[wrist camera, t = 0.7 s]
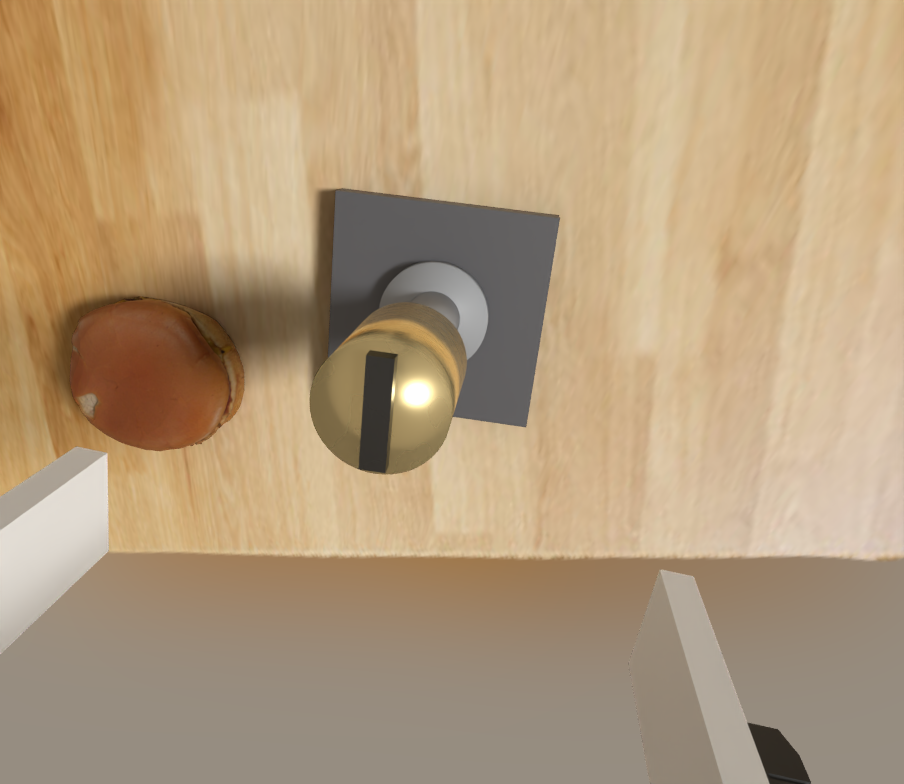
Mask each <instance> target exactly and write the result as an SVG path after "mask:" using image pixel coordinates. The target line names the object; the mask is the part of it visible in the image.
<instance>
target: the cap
mask: <svg viewBox="0 0 904 784" xmlns="http://www.w3.org/2000/svg"><path fill="white" fill-rule="evenodd" d="M466 369H467V355H466V349H465V345H464V343H463V340H462V338H461V336H460V334H459V332H458V330H457V329H456V328H455V326H454V325H453V324H452V323H451V322H450V321H449V320H448V319H447V318H446V317H445V316H444V315H443V314H441V313H440V312H438V311H436V310H435V309H432V308H430V307H428V306H425V305H422V304H418V303H410V302H401V303H394V304H390V305H387V306H384V307H382V308H380V309H378V310H376V311H375V312H373V313H372V314H370V315H369V316H368V317H367V318H366V319H365V320H364V321H363V322H362V323H361V324H360V325H359V326H358V327H357V328H356V329H355V330H354V332H353V333H352V334H351V335H350V336H349V337H348V338H347V339H346V340H345V341H344V342H343V343H342V344H341V345H340V346H339V347H338V348H337V349H336V350H335V351H334V352H333V354H332V355H331V356H330V357H329V358H328V359H327V360H326V361H325V362H324V363H323V365H322V366H321V367H320V369H319V370H318V372H317V374H316V376H315V378H314V380H313V383H312V387H311V391H310V412H311V417H312V421H313V424H314V427H315V429H316V431H317V433H318V435H319V437H320V438H321V440H322V441H323V443H324V444H325V445H326V446H327V448H328V449H329V450H330V451H331V452H332V453H333V454H334V455H336V456H337V457H338V458H339V459H341V460H342V461H344V462H345V463H347V464H348V465H350V466H353V467H355V468H357V469H360V470H362V471H365V472H370V473H375V474H397V473H402V472H406V471H410V470H412V469H414V468H417V467H419V466H420V465H422V464H424V463H425V462H426V461H428V460H429V459H430V458H432V456H433V455H434V454H435V453H436V452H437V451H438V450H439V448H440V447H441V446H442V444H443V442H444V440H445V438H446V436H447V433H448V430H449V427H450V424H451V421H452V417H453V414H454V411H455V407H456V404H457V401H458V397H459V394H460V391H461V387H462V384H463V381H464V378H465V374H466Z"/></svg>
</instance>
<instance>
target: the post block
mask: <svg viewBox="0 0 904 784" xmlns="http://www.w3.org/2000/svg"><path fill="white" fill-rule="evenodd" d="M559 220H560V217H559V215H552V214H544V213H536V212H528V211H520V210H512V209H504V208H496V207H488V206H480V205H472V204H464V203H455V202H447V201H439V200H431V199H423V198H415V197H407V196H399V195H391V194H383V193H375V192H367V191H359V190H351V189H339V190H336V194H335V216H334V238H333V260H332V281H331V303H330V325H329V347H328V358H329V357H330V356H331V355H332V354H333V352H334V351H335V350H336V349H337V348H338V347H339V346H340V345H341V344H342V343H343V342H344V341H345V340H346V339H347V338H348V337H349V336H350V335H351V334H352V333H353V332H354V330H355V329H356V328H357V327H358V326H359V325H360V324H361V323H362V322H363V321H364V320H365V319H366V318H367V317H368V316H369V315H370V314H372V313H373V312H375V311H376V310H378V309H380V308H382V307H384V306H387V305H390V304H394V303H401V302H410V303H418V304H422V305H425V306H428V307H430V308H432V309H435V310H436V311H438V312H440V313H441V314H443V315H444V316H445V317H446V318H447V319H448V320H449V321H450V322H451V323H452V324H453V325H454V326H455V328H456V329H457V330H458V332H459V334H460V336H461V338H462V340H463V343H464V345H465V349H466V355H467V369H466V374H465V378H464V381H463V384H462V387H461V391H460V394H459V397H458V401H457V404H456V407H455V411H454V414H453V417H459V418H466V419H473V420H480V421H486V422H493V423H500V424H507V425H514V426H521V427H526V424H527V418H528V412H529V406H530V400H531V393H532V387H533V381H534V375H535V369H536V363H537V356H538V350H539V344H540V338H541V332H542V326H543V319H544V313H545V307H546V301H547V295H548V288H549V282H550V276H551V270H552V264H553V258H554V251H555V245H556V239H557V233H558V227H559Z"/></svg>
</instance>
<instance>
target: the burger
mask: <svg viewBox="0 0 904 784" xmlns="http://www.w3.org/2000/svg"><path fill="white" fill-rule="evenodd" d="M78 322H79V324H78V326H77V328H76V330H75V331H74V333H73V335H72V344H73V350H72V356H71V365H70V385H71V390H72V395H73V398H74V400H75V402H76V403H77V404H78V406H79V408H80V409H81V411H82V413H83V414H84V415H85V417H86V418H87V419H88V420H89V421H90V423H91V424H92V425H94V426H95V427H96V428H98V429H99V430H100V431H102V432H103V433H104V434H106V435H108V436H109V437H111V438H113V439H115V440H117V441H119V442H121V443H124V444H127V445H130V446H134V447H138V448H141V449H145V450H154V451H163V450H169V449H179V448H183V447H186V446H193V445H194V444H196V445H197V444H202V442H203V441H205V440H207V439H209V438H210V437H211V436H212V435H213V434H214V433H215V432H216V431H217V429H218V428H220V427H221V426H222V425H223V424H224V423H226V422H227V421H229V420H230V419H231V418H232V417H233V416H234V415H235V413H236V412H237V410H238V409H239V407H240V404H241V401H242V397H243V393H244V371H243V365H242V363H241V360H240V357H239V355H238V353H237V351H236V348H235V346H234V344H233V342H232V341H231V339H230V337H229V336H228V335H227V334H226V332H225V330H224V329H223V328H222V327H221V326H220V324H219V323H218V322H217V321H215V320H214V319H212V318H211V317H209V316H207V315H205V314H203V313H201V312H198V311H196V310H193V309H191V308H188V307H186V306H182V305H179V304H176V303H172V302H168V301H163V300H158V299H152V298H147V297H137V298H134V299H123V300H121V301H118V302H116V303H114V304H110V305H105V306H103V307H100V308H97V309H94V310H92V311H91V312H89V313H87V314H85V315H84V316H82V317H81V318H80V319H79V320H78Z"/></svg>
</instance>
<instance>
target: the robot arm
mask: <svg viewBox="0 0 904 784" xmlns="http://www.w3.org/2000/svg"><path fill="white" fill-rule="evenodd" d="M108 551H109V542H108V471H107V453H105V452H100V451H95V450H90V449H86V448H81V447H75V448H73V449H72V450H70V451H69V452H67V453H66V454H64V455H63V456H61V457H60V458H58V459H57V460H55V461H54V462H52V463H51V464H49V465H48V466H46V467H45V468H43V469H42V470H40V471H39V472H37V473H35V474H34V475H32V476H31V477H29V478H28V479H26V480H25V481H23V482H22V483H20V484H19V485H17V486H16V487H14V488H13V489H11V490H10V491H8V492H7V493H5V494H4V495H2V496H1V497H0V654H1V653H2V652H3V651H4V650H5V649H6V648H7V647H8V646H9V645H10V644H12V643H13V642H14V641H15V640H16V639H17V638H18V637H19V636H20V635H21V634H22V633H23V632H24V631H25V630H26V629H27V628H28V627H29V626H30V625H31V624H32V623H34V622H35V621H36V620H37V619H38V618H39V617H40V616H41V615H42V614H43V613H44V612H45V611H46V610H47V609H48V608H49V607H50V606H51V605H52V604H53V603H54V602H56V601H57V599H59V598H60V597H61V596H62V595H63V594H64V593H65V592H66V591H67V590H68V589H69V588H70V587H71V586H72V585H73V584H74V583H75V582H76V581H77V580H79V579H80V578H81V577H82V576H83V575H84V574H85V573H86V572H87V571H88V570H89V569H90V568H91V567H92V566H93V565H94V564H95V563H96V562H97V561H98V560H99V559H101V557H103V556H104V555H105V554H106V553H107V552H108ZM628 665H629V671H630V676H631V681H632V687H633V693H634V698H635V704H636V709H637V715H638V720H639V726H640V732H641V737H642V742H643V748H644V754H645V759H646V765H647V770H648V776H649V781H650V784H811V781H810V779H809V777H808V774H807V772H806V770H805V767H804V765H803V763H802V760H801V758H800V756H799V754H798V753H797V752H796V751H795V749H794V748H793V747H792V746H791V745H790V743H789V742H788V741H787V740H786V739H785V737H784V736H783V735H782V734H781V732H780V731H779V730H778V729H774V728H770V727H765V726H760V725H755V724H751V723H747V721H746V718H745V715H744V713H743V710H742V707H741V705H740V702H739V699H738V696H737V694H736V691H735V688H734V686H733V683H732V680H731V678H730V675H729V672H728V669H727V666H726V664H725V661H724V658H723V656H722V653H721V650H720V648H719V645H718V642H717V639H716V637H715V634H714V631H713V628H712V626H711V623H710V620H709V618H708V615H707V612H706V609H705V606H704V604H703V601H702V598H701V596H700V593H699V590H698V587H697V585H696V582H695V579H694V576H689V575H684V574H679V573H674V572H670V571H665V570H660V571H659V574H658V577H657V580H656V583H655V585H654V588H653V591H652V594H651V597H650V601H649V603H648V606H647V610H646V613H645V615H644V618H643V622H642V624H641V628H640V630H639V633H638V636H637V639H636V643H635V645H634V648H633V651H632V654H631V657H630V660H629V663H628Z"/></svg>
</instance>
